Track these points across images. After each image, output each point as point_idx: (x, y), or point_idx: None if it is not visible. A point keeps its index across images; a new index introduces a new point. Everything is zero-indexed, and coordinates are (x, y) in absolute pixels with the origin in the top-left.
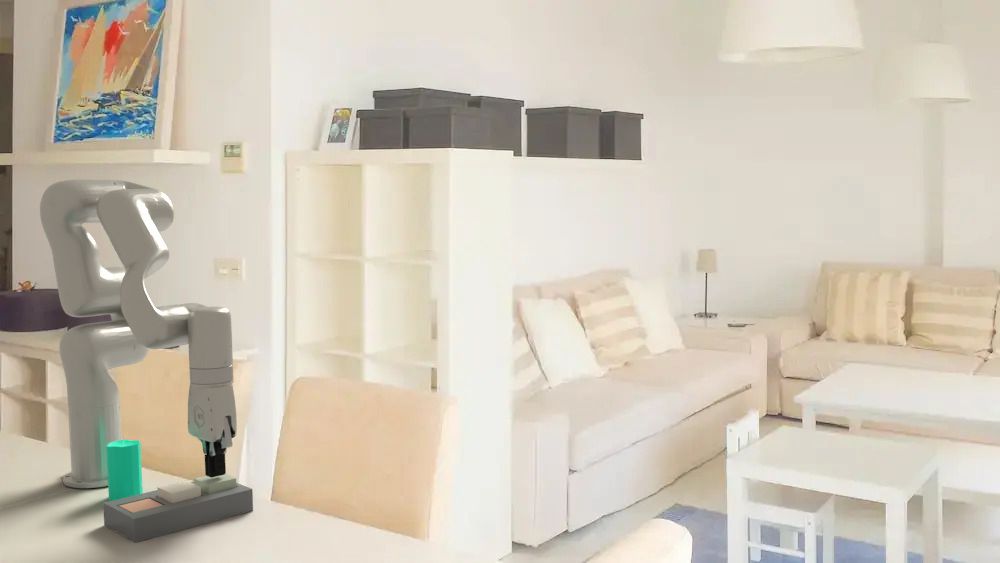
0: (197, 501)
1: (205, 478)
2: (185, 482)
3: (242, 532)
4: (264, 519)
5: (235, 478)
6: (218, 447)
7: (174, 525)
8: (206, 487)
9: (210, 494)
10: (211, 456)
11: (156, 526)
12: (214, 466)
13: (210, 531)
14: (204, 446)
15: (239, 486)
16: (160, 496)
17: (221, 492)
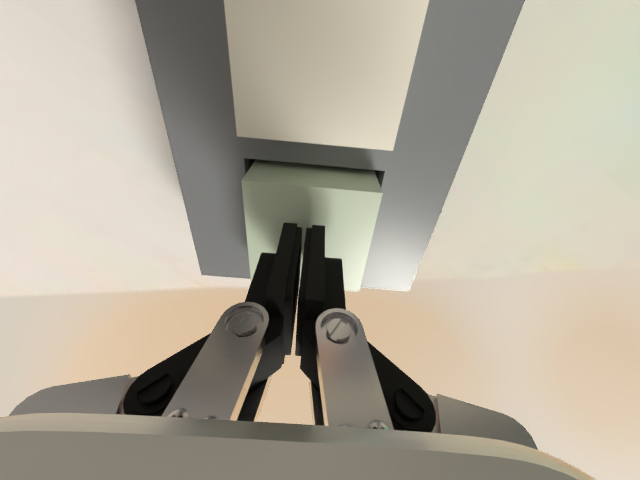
0: (167, 54)
1: (340, 222)
2: (364, 128)
3: (45, 109)
4: (138, 214)
5: (251, 280)
6: (145, 376)
7: None
8: (268, 175)
9: (235, 161)
10: (266, 305)
11: None
12: (265, 268)
13: (103, 34)
14: (338, 357)
15: None
16: None
17: (231, 201)
